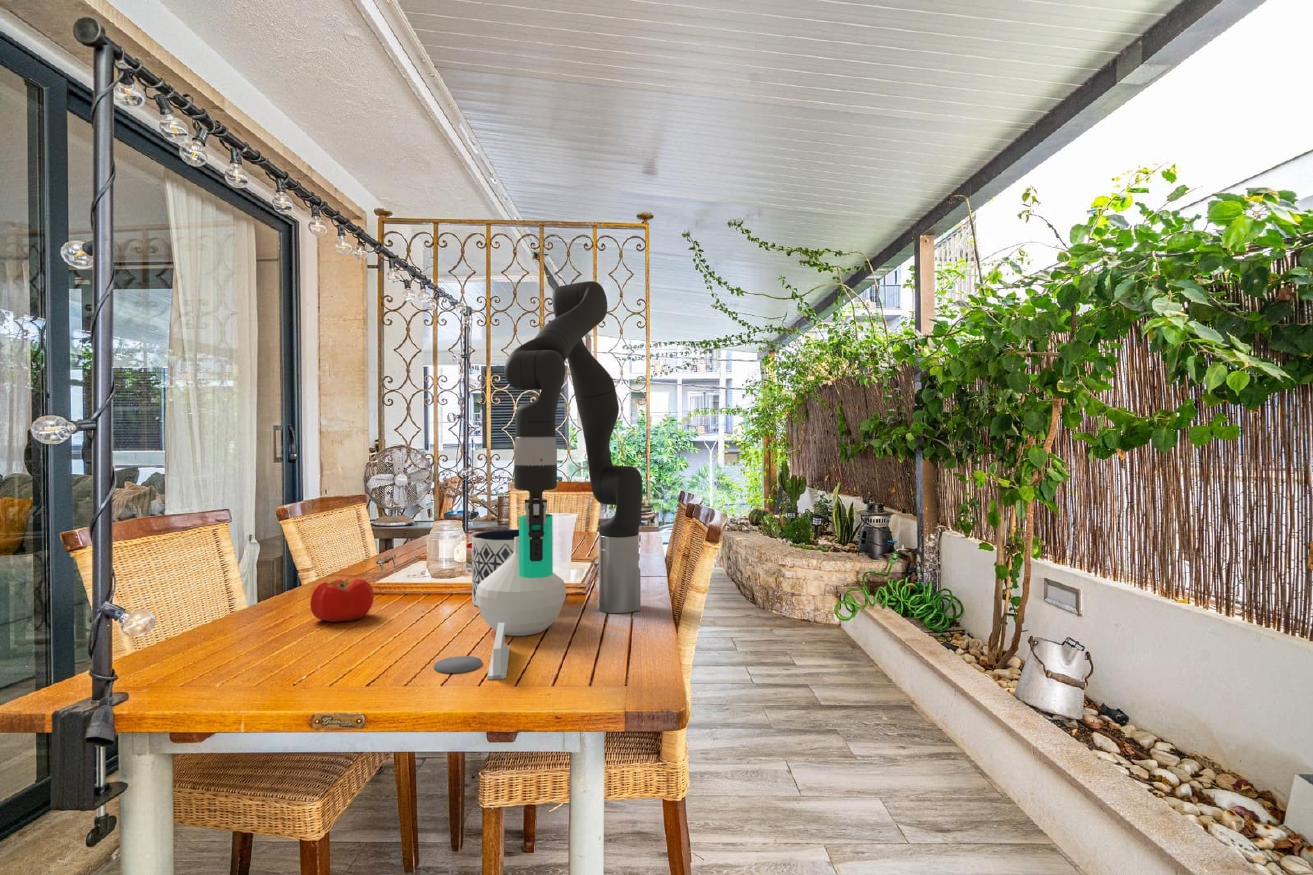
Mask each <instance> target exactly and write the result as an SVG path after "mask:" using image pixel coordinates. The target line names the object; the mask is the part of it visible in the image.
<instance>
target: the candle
mask: <svg viewBox="0 0 1313 875" xmlns="http://www.w3.org/2000/svg"><path fill="white" fill-rule="evenodd" d="M528 519H529V518H528ZM518 529H519V576H520V577H524V578H542V577H548V576H551V575H553V573H554V572H553V571H554V570H553V566H554V564H553V560H554V558H553V556H554V554H553V550H554V548H553V547H554V546H553V514H550V513H546V525H544V537H543V559H542V560H541V561H531V560H530V540H529V538H528V532H529V526H527V525H526V514H523V515H522V516H521V515H520V516H518ZM532 530H541V527H540V525H533V526H532ZM540 540H541V539H540Z"/></svg>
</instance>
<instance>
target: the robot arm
mask: <svg viewBox="0 0 1313 875" xmlns="http://www.w3.org/2000/svg"><path fill="white" fill-rule="evenodd" d="M551 303H552V310H553V314H554V319H552V320H551V321H549V322H547V323H546V324H545V325H544V326H543V327H542V329H541V330H540V331H538V333H537V335H536V336H535V337H534V338H533V339H531V340H528V341H527V342H525V343H523V344H521V345H519V346H518V347H516V348H515V349H514V350H513V351H511V353H510V354H509V355H508V357H507V359H506V360H505V364H504V370H503V371H504V377H505V380H506V383H508V385H509V386H510V387H512V388H513V389H514V390H519V391H540V392H539V395H538V397H537V398H536V399H535V400H534V401H531V402H527V403H523V404H520V405H518V406H517V408H516V409H515V419H514V420H515V424H514V425H515V441H514V448H513V460H514V461H513V462H514V463H513V483H514V484H513V485H514V486H513V487H514V489H515V490H518V491H527V492H528V494H529V497H528V499H524V511H525V515H526V525H527V526H529V532H528V538H529V540H530V560H531V561H541V560H542V559H543V537H544V525H546V514H547V511H548V499H547V498H543V492H544V491H552V490H556V489H557V487H558V447H557V440H556V415H557V409H558V404H559V400H560V395H561V392H562V388H563V386H564V383H565V382H564V381H565V376H566V363H565V362H566V361H567V363H568V367H569V371H570V372H569V373H570V378H571V382H572V387H573V392H574V394H573V395H574V396H575V398H574V399H575V402H576V403H575V404H576V407H577V411H578V415H579V419H580V422H581V427H582V432H583V433H582V434H583V437H584V438H583V439H584V443H585V449H586V457H587V465H588V474H589V481H590V486H591V487H590V488H591V491H592V494H593V497H594V499H595V500H596V501H597V503H600V504H602V505H608V506H616V507H615V512H614V515H613V516H612V517H611V518H609V519H605V520H602V521H601V522H600V523H599V525H598V534H599V535H598V548H599V549H598V566H599V567H598V572H599V574H598V580H599V581H598V593H599V594H598V597H599V599H598V605H599V606H598V607H599V610H600V611H601V612H604V613H608V614H627V613H633V612H638V611H641V610H642V609H641V604H642V603H641V602H642V601H641V600H642V599H641V598H642V597H641V596H642V595H641V594H642V593H641V582H642V581H641V580H642V579H641V568H640V559H639V558H640V553H639V552H640V548H639V546H640V543H639V541H640V539H639V538H640V535H639V534H640V531H639V530H640V525H641V521H642V509H643V507H642V506H643V493H644V492H643V489H644V488H643V487H644V486H643V478H642V475H641V473H640V471H639V469H638V468H637V467H635V466H631V465H614V464H613V461H612V455H611V451H610V450H611V449H610V445H611V444H610V443H611V437H612V434H613V432H614V429H615V426H616V423H617V420H618V417H619V412H620V405H619V400H618V395H617V390H616V385H615V382H614V379H613V377H612V376H611V375H610V373H609V372H608V371H607V370H606V368H604V366H603V365H602V364H601V362H600V361H598V360H597V359H596V358H595V356H593V354H592V353H591V352H590V350H589V349H588V348H587V347H586V344H585V342H584V340H583V338H584V337H586V335H587V334H589V333H590V332H591V331H592V330H593V329H594V328H595V327H597V326H598V325H599V324H601V323H602V322H603V321H604V319H606V316H607V313H608V299H607V295H606V292H605V289H604V288H603V286H602V285H601V284H600V283H599V282H596V281H592V280H591V281H590V280H587V281H581V282H575V283H570V284H564V285H560V286H556V287H554V290H553V291H552V296H551ZM528 518H529V519H528ZM533 525H540V527H541V530H532V526H533ZM540 539H541V540H540Z"/></svg>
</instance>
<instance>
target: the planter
mask: <svg viewBox="0 0 1313 875" xmlns="http://www.w3.org/2000/svg"><path fill="white" fill-rule="evenodd" d="M514 537H519V528H518V529H497V530H489V531H486V530H485V531H481V532H476V533H474V534H473V535H472V537H471V538H472V539H471V573H472V574H471V585H472V586H471V590H472V591H471V592H472V593H471V599H472V600H471V601H472V604H473V605H475V606H476V607H478V606H477V602H476V590H477V587H478V585H479V583H480V582H481V581H483V580H484V579H485V578H486V577H488V576H489V575H490V574H491V573H493V572H494V571H495V570H496V569H498V568H499V567H500V566H501V565H502V564H503V563H504V562H506V561H507V560H508V559H509V558H510V557H511V555H512V554H513V553H514Z"/></svg>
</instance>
